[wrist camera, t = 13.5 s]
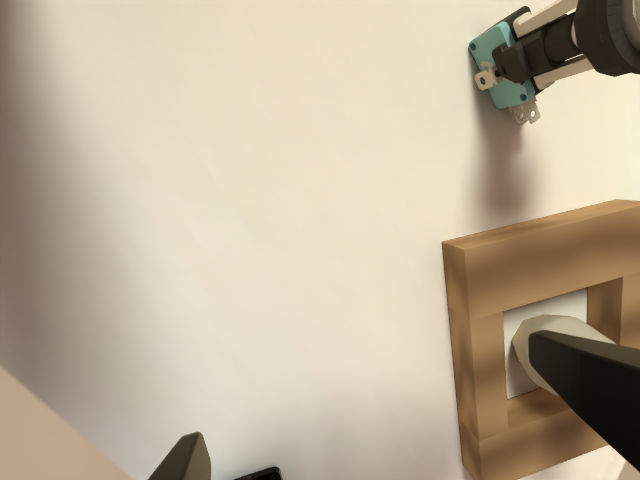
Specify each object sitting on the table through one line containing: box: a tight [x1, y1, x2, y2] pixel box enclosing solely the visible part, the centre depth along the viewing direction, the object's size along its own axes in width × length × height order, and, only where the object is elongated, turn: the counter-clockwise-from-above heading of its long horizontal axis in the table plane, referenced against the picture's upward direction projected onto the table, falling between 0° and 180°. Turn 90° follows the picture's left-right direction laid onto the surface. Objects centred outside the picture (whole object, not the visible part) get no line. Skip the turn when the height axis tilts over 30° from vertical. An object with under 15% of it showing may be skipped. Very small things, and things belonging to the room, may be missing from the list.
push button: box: [469, 0, 640, 126], centre depth 16 cm, size 7×5×10 cm
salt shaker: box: [512, 315, 616, 397], centre depth 19 cm, size 6×6×13 cm
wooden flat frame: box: [442, 200, 640, 480], centre depth 25 cm, size 20×15×2 cm
